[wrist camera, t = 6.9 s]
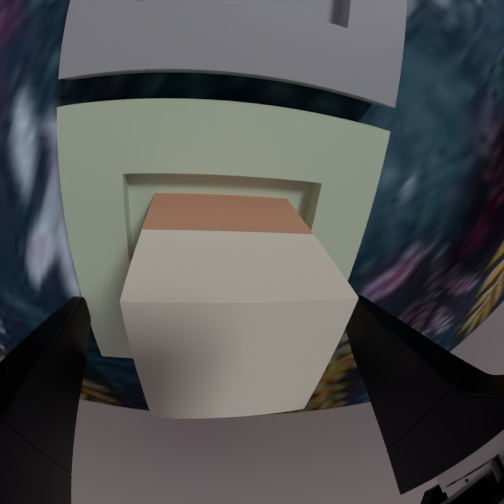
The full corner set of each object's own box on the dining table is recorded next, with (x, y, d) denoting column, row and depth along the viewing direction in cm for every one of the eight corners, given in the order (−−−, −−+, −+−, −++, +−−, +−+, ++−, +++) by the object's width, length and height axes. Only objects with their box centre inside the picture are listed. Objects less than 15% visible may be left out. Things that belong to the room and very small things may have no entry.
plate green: (369, 125, 11) (390, 131, 9) (310, 331, 17) (319, 351, 15) (74, 103, 8) (57, 107, 7) (107, 334, 14) (102, 355, 13)
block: (286, 198, 11) (358, 297, 6) (267, 298, 14) (303, 408, 9) (155, 192, 10) (119, 301, 5) (160, 298, 13) (152, 417, 8)
